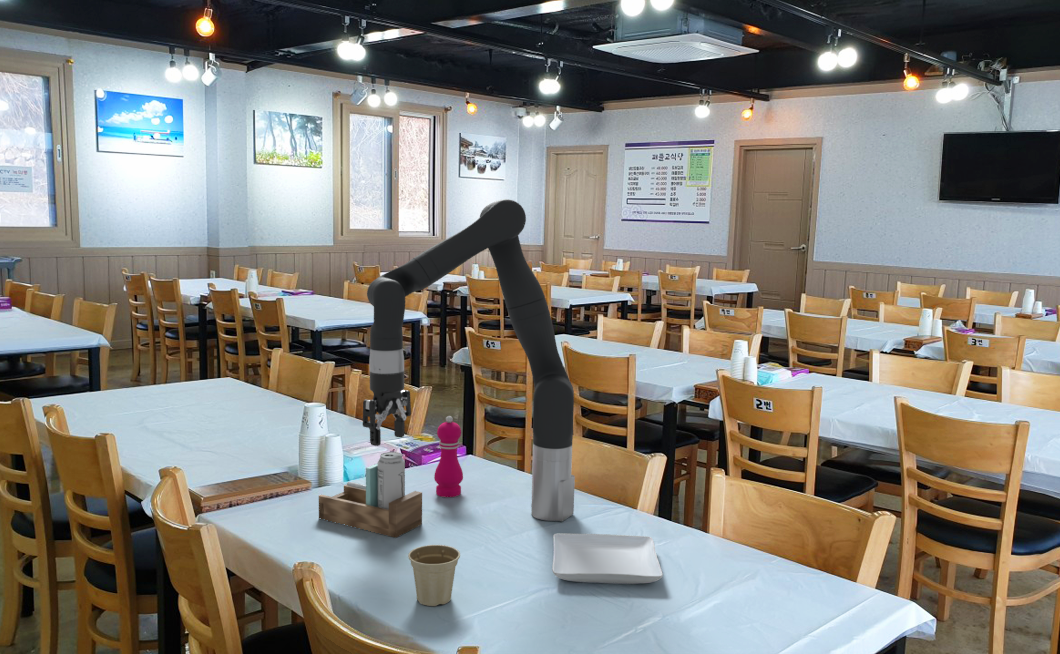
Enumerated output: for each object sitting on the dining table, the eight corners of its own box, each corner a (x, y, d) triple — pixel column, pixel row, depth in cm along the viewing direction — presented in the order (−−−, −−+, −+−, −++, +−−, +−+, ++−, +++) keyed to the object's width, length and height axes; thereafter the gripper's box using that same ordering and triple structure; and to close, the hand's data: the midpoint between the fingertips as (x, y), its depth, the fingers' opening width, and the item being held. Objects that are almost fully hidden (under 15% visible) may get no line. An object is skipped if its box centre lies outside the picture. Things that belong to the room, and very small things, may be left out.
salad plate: (552, 546, 184) (553, 530, 183) (651, 549, 183) (652, 534, 183) (551, 589, 163) (552, 571, 162) (663, 593, 162) (664, 576, 162)
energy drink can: (402, 525, 189) (402, 459, 187) (375, 524, 189) (375, 458, 187) (406, 515, 195) (406, 451, 193) (380, 514, 195) (380, 451, 193)
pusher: (389, 511, 196) (389, 461, 195) (370, 520, 190) (370, 468, 189) (358, 504, 201) (358, 454, 199) (338, 513, 195) (337, 462, 193)
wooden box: (422, 524, 194) (422, 492, 193) (396, 537, 186) (396, 504, 185) (346, 506, 204) (346, 476, 203) (318, 518, 196) (318, 487, 195)
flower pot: (409, 588, 161) (409, 544, 160) (459, 587, 162) (460, 543, 161) (406, 611, 152) (406, 565, 150) (459, 610, 152) (460, 564, 151)
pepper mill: (458, 499, 212) (459, 420, 209) (430, 496, 213) (430, 418, 210) (466, 490, 219) (467, 413, 216) (439, 487, 220) (439, 411, 217)
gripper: (380, 375, 180) (381, 450, 182) (419, 365, 192) (420, 436, 194) (352, 372, 183) (353, 446, 185) (392, 362, 196) (393, 431, 198)
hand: (387, 440), depth 190 cm, fingers open, 8 cm apart
